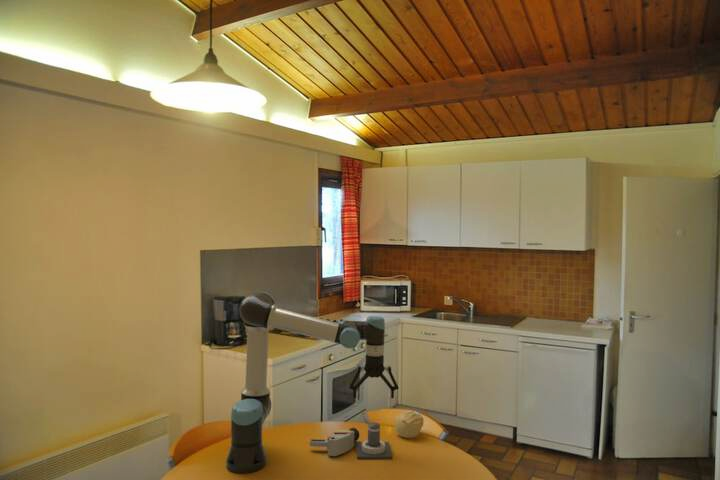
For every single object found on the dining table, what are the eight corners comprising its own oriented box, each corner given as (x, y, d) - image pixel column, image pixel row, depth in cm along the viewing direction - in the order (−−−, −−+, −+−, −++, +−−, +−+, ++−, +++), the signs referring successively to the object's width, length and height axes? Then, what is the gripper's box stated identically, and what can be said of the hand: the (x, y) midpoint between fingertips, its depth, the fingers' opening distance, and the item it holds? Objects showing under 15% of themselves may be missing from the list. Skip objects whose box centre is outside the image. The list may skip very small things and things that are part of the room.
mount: (357, 459, 197) (357, 451, 197) (355, 444, 211) (355, 437, 211) (392, 458, 198) (392, 451, 198) (388, 444, 212) (388, 437, 212)
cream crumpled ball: (409, 443, 213) (410, 418, 213) (389, 434, 222) (390, 410, 222) (427, 436, 221) (427, 412, 220) (407, 428, 229) (407, 405, 229)
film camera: (330, 437, 220) (360, 443, 213) (306, 451, 203) (338, 459, 196) (331, 421, 221) (360, 427, 214) (306, 434, 203) (338, 441, 196)
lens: (368, 451, 201) (368, 427, 201) (367, 446, 207) (367, 422, 207) (380, 451, 202) (380, 427, 202) (379, 446, 207) (379, 422, 207)
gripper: (344, 356, 200) (343, 408, 200) (406, 357, 201) (404, 409, 201) (344, 351, 207) (342, 402, 207) (403, 352, 208) (402, 403, 209)
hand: (373, 405), depth 204 cm, fingers open, 13 cm apart
